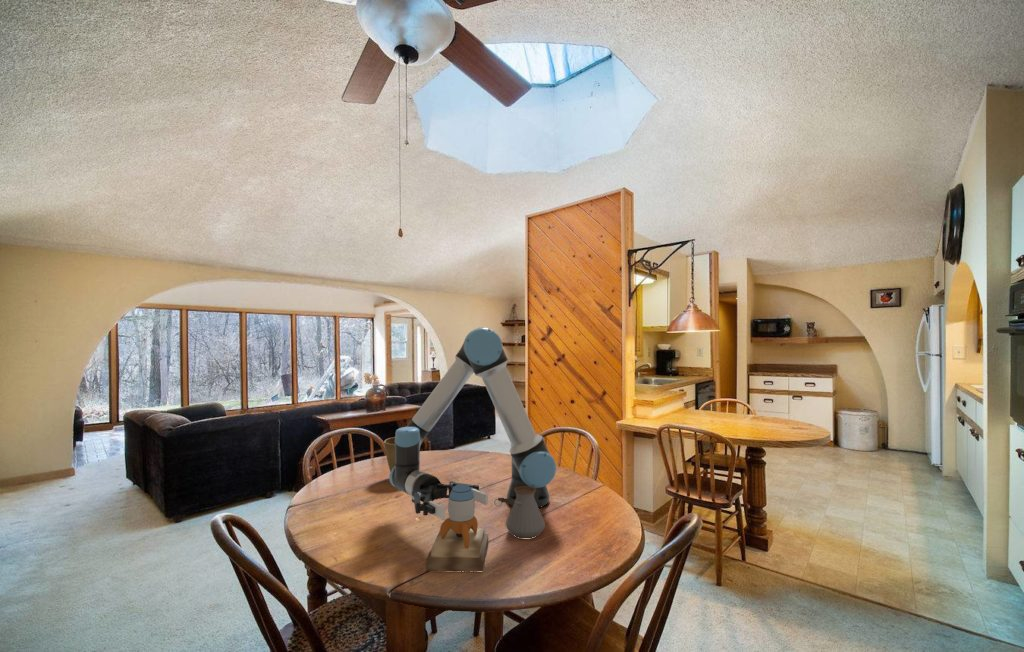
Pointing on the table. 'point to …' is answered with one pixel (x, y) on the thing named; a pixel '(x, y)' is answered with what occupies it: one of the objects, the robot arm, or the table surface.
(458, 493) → the toy rocket
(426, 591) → the table surface
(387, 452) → the plant pot
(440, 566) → the pad
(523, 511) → the coffee pot
